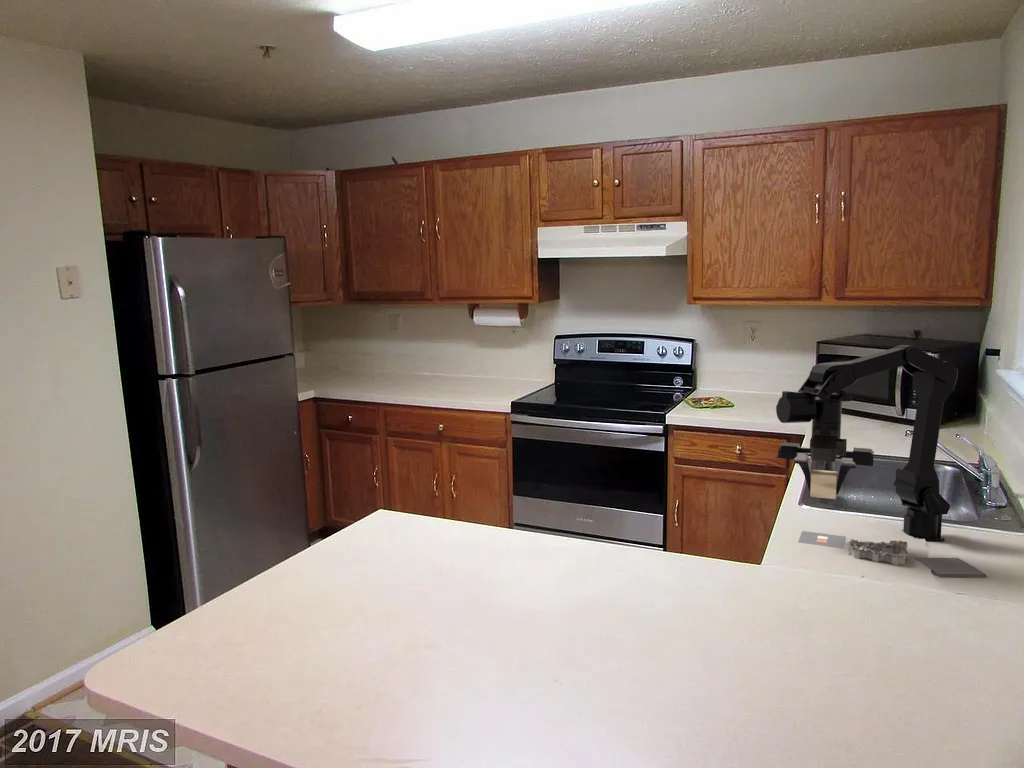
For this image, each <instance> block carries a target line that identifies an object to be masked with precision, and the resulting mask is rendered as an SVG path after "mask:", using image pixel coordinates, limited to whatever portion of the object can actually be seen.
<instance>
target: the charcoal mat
mask: <svg viewBox="0 0 1024 768" xmlns="http://www.w3.org/2000/svg"><path fill="white" fill-rule="evenodd" d="M913 559H915V560H916V561H917V562H919V563H920V564H922V565H924V566H925V567H927V568H928V569H930V570H931V573H932V574H934V575H935V576H936V577H939V578H987V576H988V575H987V573H986V572H984V571H982V570H980V569H979V568H977V567H975V566H973V565H972V564H970V563H968V562H966V561H965V560H963V559H961V558H959V557H913Z"/></svg>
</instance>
